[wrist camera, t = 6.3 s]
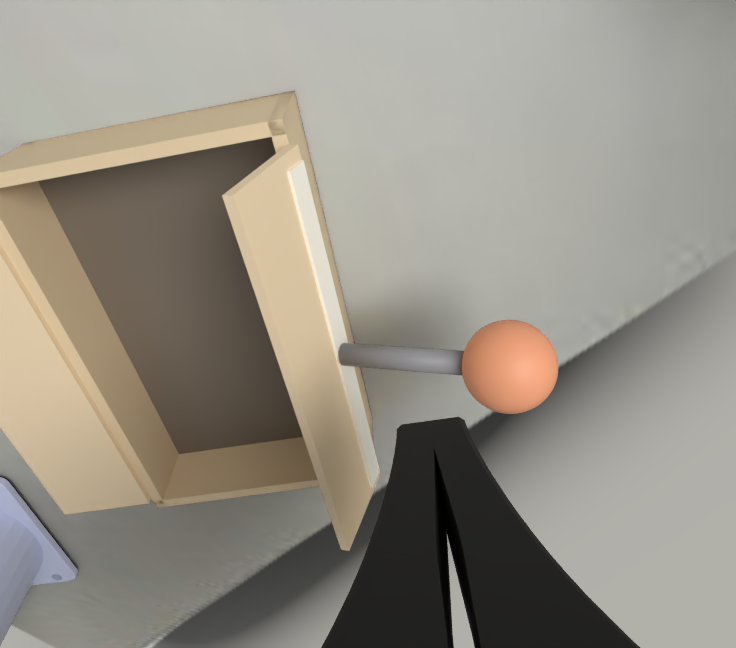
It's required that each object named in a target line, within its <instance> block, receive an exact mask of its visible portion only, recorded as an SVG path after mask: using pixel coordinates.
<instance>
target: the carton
mask: <svg viewBox="0 0 736 648" xmlns="http://www.w3.org/2000/svg"><path fill="white" fill-rule="evenodd" d="M289 144H298V146H299V150H300V154H301V158H302V160H304V164H305V168H306V172H307V176H308V180H309V185H310V189H311V193H312V197H313V201H314V205H315V209H316V213H317V217H318V221H319V225H320V229H321V234H322V238H323V242H324V246H325V250H326V254H327V258H328V262H329V266H330V270H331V274H332V278H333V283H334V287H335V291H336V295H337V299H338V303H339V307H340V311H341V315H342V319H343V323H344V327H345V332H346V336H347V340H348V343H351V344H355V343H354V339H353V335H352V330H351V326H350V322H349V318H348V314H347V309H346V305H345V301H344V297H343V292H342V288H341V284H340V280H339V276H338V271H337V267H336V263H335V259H334V255H333V250H332V246H331V242H330V238H329V233H328V229H327V225H326V221H325V217H324V212H323V208H322V204H321V200H320V196H319V191H318V187H317V183H316V179H315V174H314V170H313V166H312V162H311V158H310V153H309V149H308V145H307V141H306V137H305V132H304V128H303V124H302V120H301V116H300V111H299V107H298V103H297V99H296V94H295V91H291V92H286V93H281V94H275V95H270V96H265V97H260V98H255V99H250V100H245V101H240V102H234V103H229V104H224V105H219V106H214V107H209V108H204V109H199V110H194V111H188V112H183V113H178V114H173V115H168V116H163V117H158V118H153V119H147V120H142V121H137V122H132V123H127V124H122V125H117V126H112V127H107V128H101V129H96V130H91V131H86V132H81V133H76V134H71V135H66V136H61V137H55V138H50V139H45V140H40V141H35V142H30V143H25V144H22V145H21V146H19V147H17V148H16V149H14V150H12V151H11V152H9V153H7V154H6V155H4V156H2V157H1V158H0V427H1V429H2V430H3V432H4V433H5V434H6V436H7V437H8V438H9V440H10V441H11V442H12V444H13V445H14V446H15V448H16V449H17V451H18V452H19V453H20V455H21V456H22V457H23V459H24V460H25V461H26V463H27V464H28V465H29V467H30V468H31V470H32V471H33V472H34V474H35V475H36V476H37V478H38V479H39V480H40V482H41V483H42V484H43V486H44V487H45V489H46V490H47V491H48V493H49V494H50V495H51V497H52V498H53V499H54V501H55V502H56V503H57V505H58V506H59V508H60V509H61V510H62V512H63V513H64V514H65V515H67V514H74V513H82V512H89V511H97V510H104V509H112V508H119V507H127V506H134V505H142V504H149V503H150V501H151V499H152V500H153V502H154V504H155V505H156V507H157V508H161V507H168V506H176V505H183V504H191V503H198V502H206V501H213V500H221V499H228V498H236V497H244V496H251V495H259V494H266V493H274V492H281V491H289V490H296V489H304V488H312V487H319V486H320V485H319V482H318V479H317V476H316V473H315V470H314V467H313V464H312V462H311V459H310V456H309V453H308V450H307V447H306V444H305V441H304V438H303V435H302V432H301V429H300V426H299V423H298V420H297V417H296V414H295V411H294V408H293V405H292V402H291V399H290V396H289V393H288V390H287V387H286V384H285V381H284V378H283V375H282V372H281V369H280V367H279V364H278V361H277V358H276V355H275V352H274V349H273V346H272V343H271V340H270V337H269V334H268V331H267V328H266V325H265V322H264V319H263V316H262V313H261V310H260V307H259V304H258V301H257V298H256V295H255V292H254V289H253V286H252V283H251V280H250V277H249V274H248V272H247V269H246V266H245V263H244V260H243V257H242V254H241V251H240V248H239V245H238V242H237V239H236V236H235V233H234V230H233V227H232V224H231V221H230V218H229V215H228V212H227V209H226V206H225V203H224V200H223V197H222V195H223V194H225V193H226V192H227V191H229V190H230V189H231V188H232V187H234V186H235V185H236V184H238V183H239V182H240V181H241V180H243V179H244V178H245V177H247V176H248V175H249V174H251V173H252V172H253V171H254V170H256V169H257V168H258V167H260V166H261V165H262V164H263V163H265V162H266V161H267V160H269V159H270V158H271V157H272V156H274V155H275V154H276V153H278V152H279V151H280V150H282V149H283V148H284V147H285V146H287V145H289ZM354 368H355V372H356V376H357V381H358V385H359V389H360V393H361V397H362V401H363V405H364V409H365V413H366V417H367V421H368V426H369V430H370V434H371V438H372V442H373V419H372V415H371V410H370V406H369V402H368V398H367V394H366V389H365V385H364V381H363V377H362V372H361V368H360V367H355V366H354Z"/></svg>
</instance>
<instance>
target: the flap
mask: <svg viewBox="0 0 736 648" xmlns="http://www.w3.org/2000/svg"><path fill="white" fill-rule="evenodd" d="M222 197H223V200H224V203H225V206H226V209H227V212H228V215H229V218H230V221H231V224H232V227H233V230H234V233H235V236H236V239H237V242H238V245H239V248H240V251H241V254H242V257H243V260H244V263H245V266H246V269H247V272H248V274H249V277H250V280H251V283H252V286H253V289H254V292H255V295H256V298H257V301H258V304H259V307H260V310H261V313H262V316H263V319H264V322H265V325H266V328H267V331H268V334H269V337H270V340H271V343H272V346H273V349H274V352H275V355H276V358H277V361H278V364H279V367H280V369H281V372H282V375H283V378H284V381H285V384H286V387H287V390H288V393H289V396H290V399H291V402H292V405H293V408H294V411H295V414H296V417H297V420H298V423H299V426H300V429H301V432H302V435H303V438H304V441H305V444H306V447H307V450H308V453H309V456H310V459H311V462H312V464H313V467H314V470H315V473H316V476H317V479H318V482H319V485H320V488H321V491H322V494H323V497H324V500H325V503H326V506H327V509H328V512H329V515H330V518H331V521H332V524H333V527H334V529H335V533H336V536H337V539H338V542H339V544H340V548H341V549H342V550H347V551H349V550H350V547H351V545H352V543H353V540H354V538H355V535H356V533H357V530H358V528H359V525H360V523H361V521H362V518H363V516H364V513H365V511H366V508H367V506H368V503H369V501H370V498H371V496H372V494H373V491H374V489H375V486H376V484H377V481H378V479H379V476H380V475H379V471H380V470H379V466H378V462H377V458H376V454H375V450H374V446H373V442H372V438H371V434H370V430H369V426H368V421H367V417H366V413H365V409H364V405H363V401H362V397H361V393H360V389H359V385H358V381H357V376H356V372H355V368H354V366H355V367H367V368H379V369H392V370H404V371H416V372H428V373H440V374H453V375H463V379H464V382H465V384H466V386H467V388H468V390H469V392H470V393H471V394H472V396H473V397H474V398H475V399H476V400H477V401H478V402H479V403H481V404H482V405H484V406H485V407H487V408H489V409H491V410H493V411H496V412H500V413H506V414H514V413H521V412H525V411H528V410H531V409H533V408H535V407H536V406H538V405H539V404H540V403H542V402H543V401H544V400H545V399H546V398H547V397H548V395H549V394H550V393H551V391H552V389H553V388H554V385H555V383H556V380H557V375H558V360H557V356H556V352H555V350H554V348H553V345H552V344H551V342H550V341H549V339H548V338H547V337H546V336H545V335H544V334H543V333H542V332H541V331H540V330H538V329H537V328H536V327H534V326H532V325H530V324H528V323H525V322H522V321H517V320H502V321H497V322H493V323H491V324H488V325H486V326H485V327H483V328H481V329H480V330H479V331H478V332H476V333H475V334H474V335H473V336H472V338H471V339H470V341H469V342H468V344H467V346H466V348H465V350H464V351H457V350H442V349H427V348H412V347H397V346H382V345H367V344H351V343H348V340H347V336H346V332H345V327H344V323H343V319H342V315H341V311H340V307H339V303H338V299H337V295H336V291H335V287H334V283H333V278H332V274H331V270H330V266H329V262H328V258H327V254H326V250H325V246H324V242H323V238H322V234H321V229H320V225H319V221H318V217H317V213H316V209H315V205H314V201H313V197H312V193H311V189H310V185H309V180H308V176H307V172H306V168H305V164H304V160H302V158H301V154H300V150H299V146H298V144H289V145H287V146H285V147H284V148H283V149H282V150H280V151H279V152H278V153H276V154H275V155H274V156H272V157H271V158H270V159H269V160H267V161H266V162H265V163H263V164H262V165H261V166H260V167H258V168H257V169H256V170H254V171H253V172H252V173H251V174H249V175H248V176H247V177H245V178H244V179H243V180H241V181H240V182H239V183H238V184H236V185H235V186H234V187H232V188H231V189H230V190H229V191H227V192H226V193H225V194H223V195H222Z"/></svg>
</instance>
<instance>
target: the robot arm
mask: <svg viewBox="0 0 736 648" xmlns="http://www.w3.org/2000/svg"><path fill="white" fill-rule="evenodd" d="M430 424H431V425H430ZM447 535H448V539H449V543H450V547H451V551H452V555H453V559H454V563H455V568H456V572H457V575H458V579H459V584H460V588H461V592H462V596H463V600H464V604H465V608H466V612H467V616H468V620H469V624H470V628H471V632H472V636H473V641H474V646H475V648H640V647H639V646H638V645H637V644H635V643H634V642H633V641H632V640H631V639H630V638H629V637H628V636H627V635H626V634H625V633H624V632H623V631H622V630H621V629H620V628H619V627H618V626H617V625H616V624H615V623H614V622H613V621H612V620H611V619H610V618H609V617H608V616H607V615H606V614H605V613H604V612H603V611H602V610H601V609H600V608H599V607H598V606H597V605H596V604H595V603H594V602H593V601H592V600H591V599H590V598H589V597H588V596H587V595H586V594H585V593H584V592H583V591H582V590H581V589H580V587H579V586H578V585H577V584H576V583H575V582H574V581H573V580H572V579H571V578H570V576H569V575H568V574H567V573H566V572H565V571H564V570H563V569H562V567H561V566H560V565H559V564H558V563H557V562H556V560H555V559H554V558H553V557H552V556H551V555H550V554H549V552H548V551H547V550H546V549H545V547H544V546H543V545H542V544H541V542H540V541H539V540H538V539H537V537H536V536H535V535H534V534H533V532H532V531H531V530H530V528H529V527H528V526H527V524H526V523H525V522H524V520H523V519H522V518H521V516H520V515H519V514H518V512H517V511H516V510H515V508H514V507H513V505H512V504H511V503H510V501H509V500H508V498H507V497H506V495H505V494H504V492H503V491H502V489H501V488H500V486H499V485H498V483H497V482H496V480H495V479H494V477H493V476H492V474H491V472H490V471H489V469H488V467H487V466H486V464H485V462H484V460H483V459H482V457H481V455H480V453H479V452H478V450H477V448H476V446H475V444H474V442H473V440H472V438H471V436H470V434H469V431H468V429H467V426H466V423H465V420H463V419H461V418H460V417H455V418H447V419H440V420H432V421H425V422H418V423H410V424H403V425H401V426H400V427H399V428H398V429H397V439H396V447H395V454H394V459H393V464H392V469H391V473H390V478H389V482H388V485H387V489H386V493H385V496H384V500H383V504H382V508H381V510H380V514H379V517H378V520H377V523H376V526H375V528H374V531H373V534H372V537H371V540H370V543H369V546H368V548H367V551H366V554H365V556H364V559H363V561H362V564H361V566H360V569H359V571H358V573H357V576H356V578H355V580H354V583H353V585H352V587H351V589H350V592H349V594H348V596H347V598H346V600H345V602H344V604H343V606H342V608H341V610H340V612H339V614H338V616H337V618H336V621H335V623H334V625H333V627H332V629H331V630H330V632H329V634H328V636H327V638H326V640H325V642H324V644H323V646H322V648H454V647H453V635H452V618H451V600H450V583H449V565H448V550H447V549H448V547H447ZM77 573H78V570H77V568H76V567H75V566H74V564H73V563H72V562H71V561H70V559H69V558H68V557H67V555H66V554H65V553H64V552H63V550H62V549H61V548H60V547H59V545H58V544H57V543H56V541H55V540H54V539H53V538H52V536H51V535H50V534H49V532H48V531H47V530H46V529H45V527H44V526H43V525H42V524H41V522H40V521H39V520H38V518H37V517H36V516H35V515H34V513H33V512H32V511H31V509H30V508H29V507H28V506H27V504H26V503H25V502H24V501H23V499H22V498H21V497H20V495H19V494H18V493H17V492H16V490H15V489H14V488H13V486H12V485H11V484H10V483H9V481H7V480H6V479H4V478H2V477H0V645H1V643H2V641H3V639H4V637H5V635H6V633H7V631H8V629H9V628H10V626H11V624H12V622H13V620H14V618H15V616H16V614H17V612H18V610H19V608H20V606H21V604H22V602H23V600H24V598H25V596H26V594H27V592H28V590H29V589H30V587H31V586H32V585H40V584H48V583H56V582H65V581H71V580H74V579H75V578H76V575H77Z"/></svg>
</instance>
